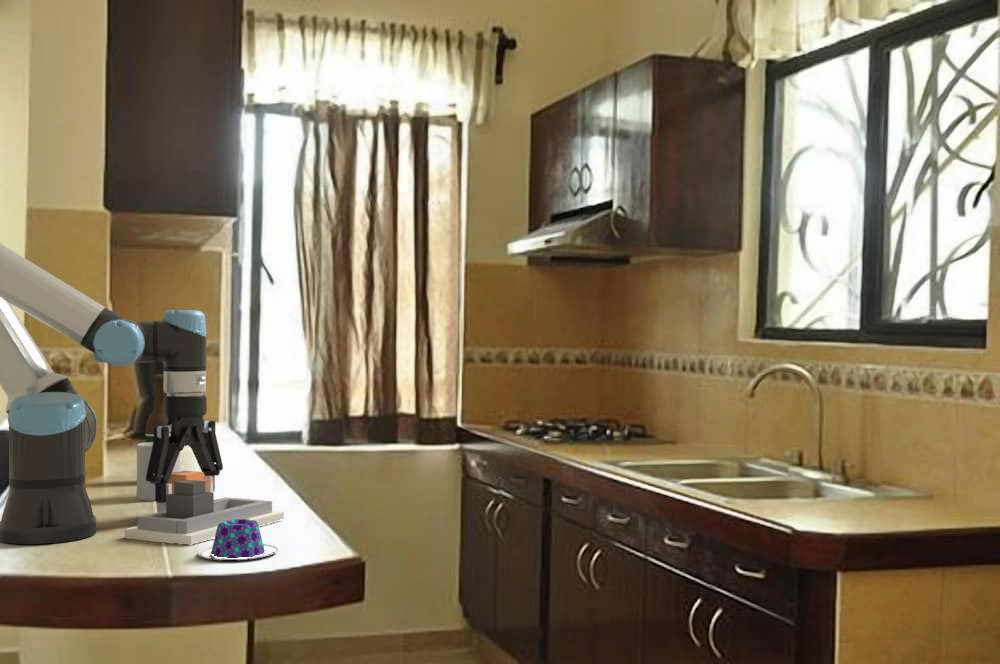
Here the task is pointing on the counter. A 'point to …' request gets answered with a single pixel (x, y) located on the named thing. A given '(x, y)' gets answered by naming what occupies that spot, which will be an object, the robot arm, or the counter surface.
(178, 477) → the block
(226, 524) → the pudding
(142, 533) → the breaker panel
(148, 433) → the beer bottle
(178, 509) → the handle
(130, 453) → the counter surface
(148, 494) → the mug
